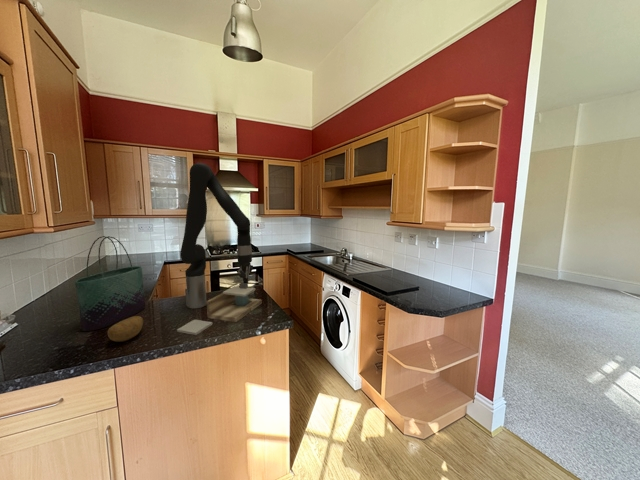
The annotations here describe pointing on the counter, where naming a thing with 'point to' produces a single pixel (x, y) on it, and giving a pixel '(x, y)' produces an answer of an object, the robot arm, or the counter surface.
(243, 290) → the cover
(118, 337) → the potato
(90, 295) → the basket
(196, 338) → the counter surface
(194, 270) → the robot arm
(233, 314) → the puzzle board
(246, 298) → the block
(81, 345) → the counter surface
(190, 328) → the mat
